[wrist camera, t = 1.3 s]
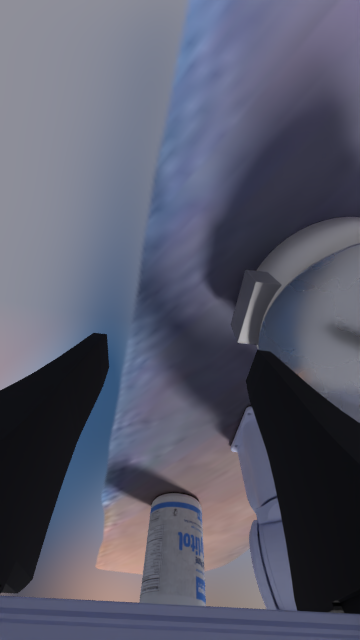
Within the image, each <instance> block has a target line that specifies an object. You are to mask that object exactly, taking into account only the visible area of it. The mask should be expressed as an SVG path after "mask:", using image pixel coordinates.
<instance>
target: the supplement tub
mask: <svg viewBox="0 0 360 640" xmlns="http://www.w3.org/2000/svg"><path fill="white" fill-rule="evenodd" d="M140 603H153V604H172V605H191V606H206V599H205V576H204V552H203V530H202V509H201V505H200V503H199V502H198V501H197V500H196V499H195V498H194V497H192V496H189V495H186V494H179V493H168V494H164V495H161V496H159V497H157V498H156V499H155V500H154V501H153V503H152V505H151V513H150V521H149V530H148V537H147V546H146V553H145V562H144V570H143V578H142V586H141V595H140Z"/></svg>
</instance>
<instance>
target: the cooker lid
mask: <svg viewBox="0 0 360 640" xmlns="http://www.w3.org/2000/svg"><path fill="white" fill-rule="evenodd" d="M258 350H263V351H270V352H272V353H273V354H274V355H275V356H277V357H278V358H279V359H280V360H281V361H282V362H283V363H285V364H286V365H287V366H288V367H289V368H290V369H291V370H292V371H294V372H295V373H296V374H297V375H298V376H299V377H300V378H302V379H303V380H304V381H305V382H306V383H307V384H309V385H310V386H311V387H312V388H313V389H315V390H316V391H317V392H318V393H320V394H321V395H322V396H323V397H325V398H326V399H327V400H328V401H330V402H331V403H332V404H334V405H335V406H336V407H338V408H339V409H340V410H342V411H343V412H345V413H346V414H347V415H349V416H350V417H352V418H353V419H355V420H356V421H357V422H359V423H360V243H357V244H353V245H350V246H348V247H345V248H343V249H341V250H338V251H336V252H334V253H332V254H329V255H327V256H326V257H324V258H322V259H320V260H319V261H317V262H315V263H313V264H312V265H310V266H309V267H308V268H306V269H305V270H303V271H302V272H301V273H299V274H298V275H297V276H296V277H295V278H294V279H292V280H291V281H290V282H289V283H288V284H287V285H286V286H285V287H284V288H283V290H282V291H281V292H280V293H279V294H278V296H277V297H276V299H275V300H274V302H273V303H272V305H271V307H270V308H269V310H268V312H267V314H266V316H265V318H264V321H263V323H262V327H261V330H260V334H259V343H258Z"/></svg>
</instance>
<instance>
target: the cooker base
mask: <svg viewBox="0 0 360 640" xmlns="http://www.w3.org/2000/svg"><path fill="white" fill-rule="evenodd" d="M357 243H360V217H339V218H333V219H328V220H324V221H321V222H318V223H315V224H312V225H310V226H308V227H306V228H304V229H301V230H299V231H298V232H296V233H295V234H293V235H291V236H290V237H288V238H287V239H286V240H284V241H283V242H282V243H280V244H279V245H278V246H277V247H276V248H275V249H274V250H273V251H272V252H271V253H270V254H269V255H268V256H267V257H266V258H265V259H264V261H263V262H262V263H261V264H260V266H259V267H258V269H257V270H256V271H254V270H245V273H244V277H243V281H242V285H241V288H240V292H239V296H238V300H237V303H236V307H235V311H234V314H233V318H232V322H231V326H232V329H233V332H234V334H235V337H236V340H237V343H245V344H254V345H256V346H257V348H258V343H259V334H260V330H261V327H262V323H263V321H264V318H265V316H266V314H267V312H268V310H269V308H270V307H271V305H272V303H273V302H274V300H275V299H276V297H277V296H278V294H279V293H280V292H281V291H282V290H283V288H284V287H285V286H286V285H287V284H288V283H289V282H290V281H291V280H292V279H294V278H295V277H296V276H297V275H298V274H299V273H301V272H302V271H303V270H305V269H306V268H308V267H309V266H310V265H312V264H313V263H315V262H317V261H319V260H320V259H322V258H324V257H326V256H327V255H329V254H332V253H334V252H336V251H338V250H341V249H343V248H345V247H348V246H350V245H353V244H357Z"/></svg>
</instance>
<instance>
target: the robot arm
mask: <svg viewBox="0 0 360 640" xmlns="http://www.w3.org/2000/svg"><path fill="white" fill-rule="evenodd" d="M108 369H109V360H108V345H107V334H99V333H93V334H91V335H90V336H88V337H87V338H86V339H84V340H83V341H81V342H80V343H79V344H77V345H76V346H74V347H73V348H71V349H70V350H69V351H67V352H66V353H64V354H63V355H61V356H60V357H58V358H57V359H55V360H53V361H52V362H50V363H49V364H47V365H45V366H44V367H42V368H41V369H39V370H37V371H36V372H34V373H32V374H31V375H29V376H27V377H25V378H23V379H22V380H20V381H18V382H16V383H14V384H12V385H10V386H8V387H6V388H4V389H2V390H0V593H18V592H20V591H21V590H22V589H23V588H24V587H26V586H27V585H28V583H29V582H30V581H31V580H32V579H33V576H34V572H35V569H36V565H37V562H38V558H39V555H40V552H41V549H42V545H43V542H44V539H45V535H46V532H47V529H48V525H49V523H50V520H51V516H52V513H53V510H54V507H55V504H56V501H57V498H58V495H59V492H60V489H61V486H62V483H63V480H64V477H65V474H66V471H67V469H68V466H69V463H70V460H71V458H72V455H73V452H74V449H75V447H76V444H77V441H78V439H79V436H80V434H81V432H82V430H83V428H84V426H85V423H86V421H87V419H88V417H89V415H90V413H91V410H92V408H93V407H94V404H95V402H96V400H97V398H98V396H99V394H100V391H101V389H102V387H103V384H104V381H105V378H106V375H107V372H108ZM246 383H247V389H248V394H249V399H250V402H251V406H252V407H247V408H246V410H245V413H244V415H243V418H242V420H241V423H240V425H239V428H238V430H237V433H236V435H235V438H234V440H233V443H232V445H231V451H233V452H238V456H239V460H240V465H241V470H242V475H243V480H244V485H245V489H246V494H247V498H248V501H249V503H250V505H251V507H252V509H253V510H254V512H255V513H256V515H257V520H254V521H253V523H252V526H251V530H250V534H249V543H250V552H251V558H252V563H253V568H254V573H255V577H256V580H257V584H258V587H259V590H260V593H261V596H262V598H263V601H264V603H265V606H266V609H248V608H229V607H210V606H191V605H172V604H153V603H132V602H114V601H113V602H112V601H95V600H75V599H56V598H35V597H16V596H0V640H360V423H359V422H357V421H356V420H355V419H353V418H352V417H350V416H349V415H347V414H346V413H345V412H343V411H342V410H340V409H339V408H338V407H336V406H335V405H334V404H332V403H331V402H330V401H328V400H327V399H326V398H325V397H323V396H322V395H321V394H320V393H318V392H317V391H316V390H315V389H313V388H312V387H311V386H310V385H309V384H307V383H306V382H305V381H304V380H303V379H302V378H300V377H299V376H298V375H297V374H296V373H295V372H294V371H292V370H291V369H290V368H289V367H288V366H287V365H286V364H285V363H283V362H282V361H281V360H280V359H279V358H278V357H277V356H275V355H274V354H273V353H272V352H270V351H263V350H257V352H256V355H255V358H254V361H253V363H252V366H251V369H250V372H249V374H248V377H247V380H246Z"/></svg>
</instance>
